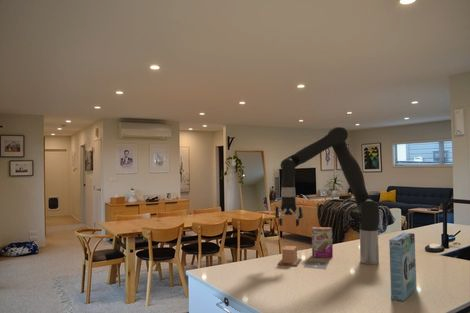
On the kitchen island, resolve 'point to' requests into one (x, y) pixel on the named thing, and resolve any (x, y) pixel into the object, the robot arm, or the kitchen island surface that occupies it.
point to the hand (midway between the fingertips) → (289, 226)
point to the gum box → (402, 266)
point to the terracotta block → (289, 254)
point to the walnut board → (290, 263)
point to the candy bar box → (322, 242)
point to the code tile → (316, 264)
